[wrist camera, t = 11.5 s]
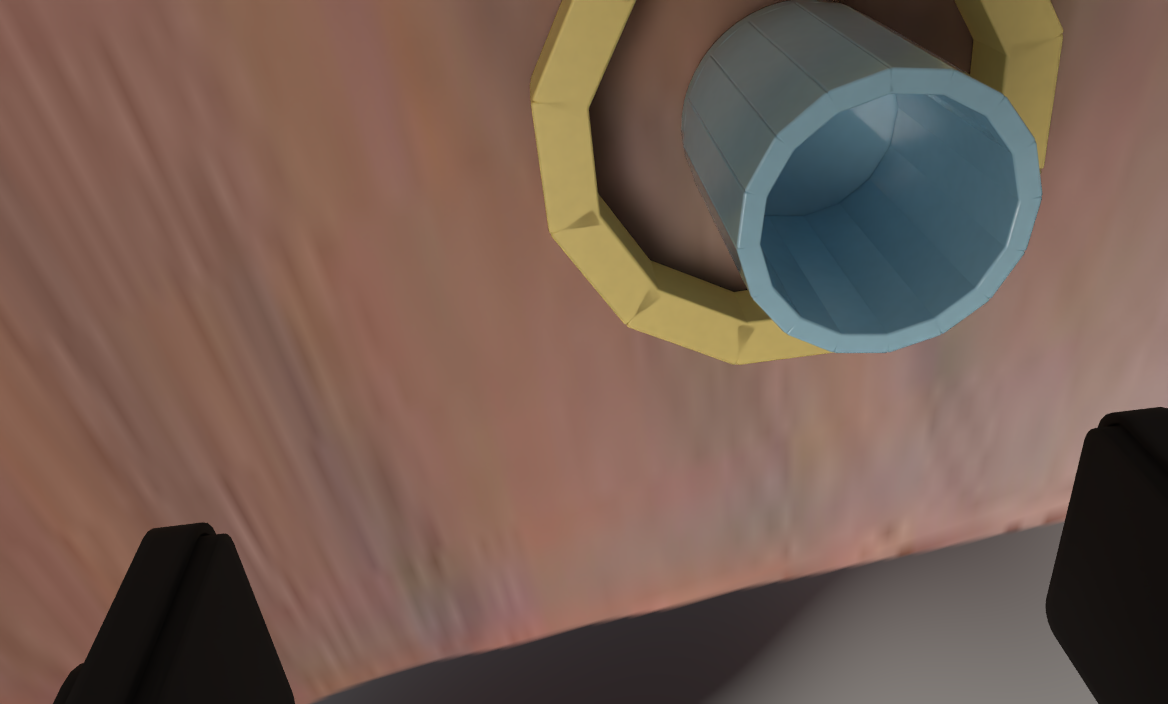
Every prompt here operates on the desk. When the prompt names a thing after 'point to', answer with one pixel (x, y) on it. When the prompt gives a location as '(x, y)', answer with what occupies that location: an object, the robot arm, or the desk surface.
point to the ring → (677, 300)
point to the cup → (857, 176)
